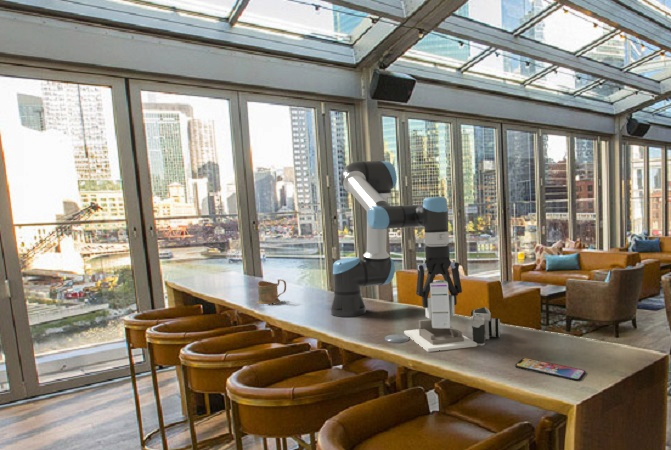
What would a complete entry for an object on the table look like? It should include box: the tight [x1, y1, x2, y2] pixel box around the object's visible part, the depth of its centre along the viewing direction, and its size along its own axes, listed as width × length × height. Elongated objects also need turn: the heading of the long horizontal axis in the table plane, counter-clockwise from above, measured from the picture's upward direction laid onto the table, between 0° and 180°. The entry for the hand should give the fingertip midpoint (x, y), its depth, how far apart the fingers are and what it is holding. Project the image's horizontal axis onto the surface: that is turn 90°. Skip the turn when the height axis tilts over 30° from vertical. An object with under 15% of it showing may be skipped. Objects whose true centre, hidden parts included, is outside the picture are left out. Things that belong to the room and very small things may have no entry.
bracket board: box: [403, 318, 478, 353], centre depth 132 cm, size 20×16×6 cm
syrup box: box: [429, 279, 451, 328], centre depth 130 cm, size 6×6×14 cm
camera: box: [470, 306, 501, 346], centre depth 131 cm, size 16×9×10 cm, turn 158°
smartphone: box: [514, 357, 586, 382], centre depth 103 cm, size 7×1×15 cm
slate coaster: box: [384, 333, 410, 344], centre depth 135 cm, size 8×8×1 cm
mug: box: [256, 279, 287, 305], centre depth 203 cm, size 12×18×12 cm, turn 57°
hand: (440, 316), depth 130 cm, fingers closed on syrup box, 7 cm apart
